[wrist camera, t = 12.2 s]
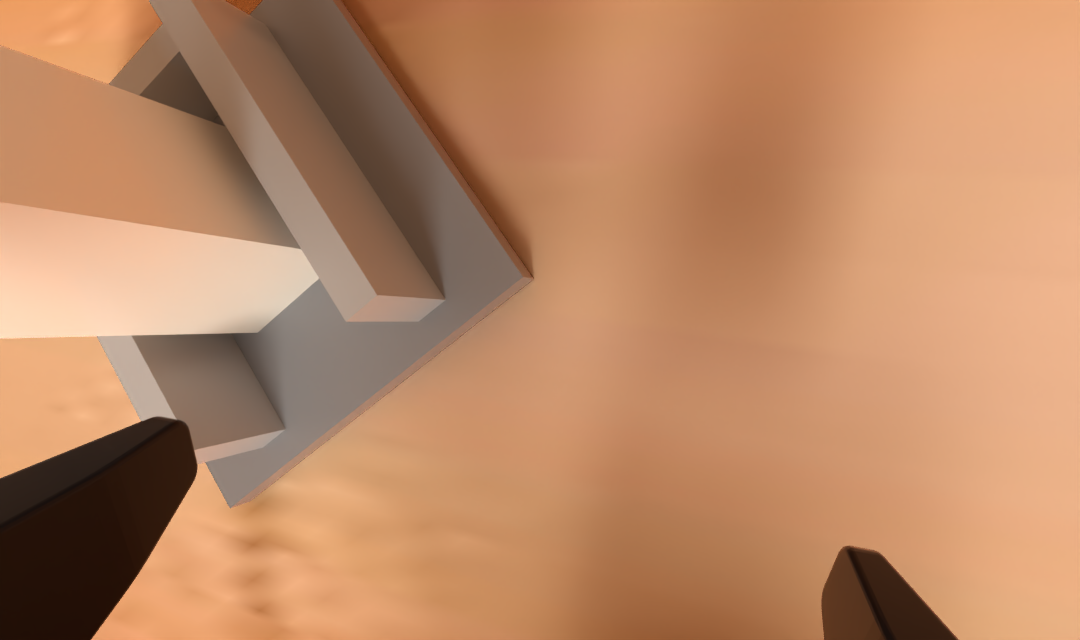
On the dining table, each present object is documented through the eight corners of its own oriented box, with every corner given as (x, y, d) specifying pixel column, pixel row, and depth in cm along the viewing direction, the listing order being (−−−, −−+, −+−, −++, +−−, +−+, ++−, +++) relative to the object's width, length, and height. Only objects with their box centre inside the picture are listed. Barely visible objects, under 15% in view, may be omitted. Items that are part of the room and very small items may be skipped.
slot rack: (533, 278, 21) (468, 266, 17) (250, 501, 25) (130, 543, 20) (321, -29, 24) (212, -115, 19) (92, 212, 28) (-47, 189, 23)
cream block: (344, 256, 22) (-120, 183, 11) (257, 332, 24) (-248, 344, 12) (274, 144, 23) (-224, -37, 12) (193, 223, 25) (-334, 132, 13)
